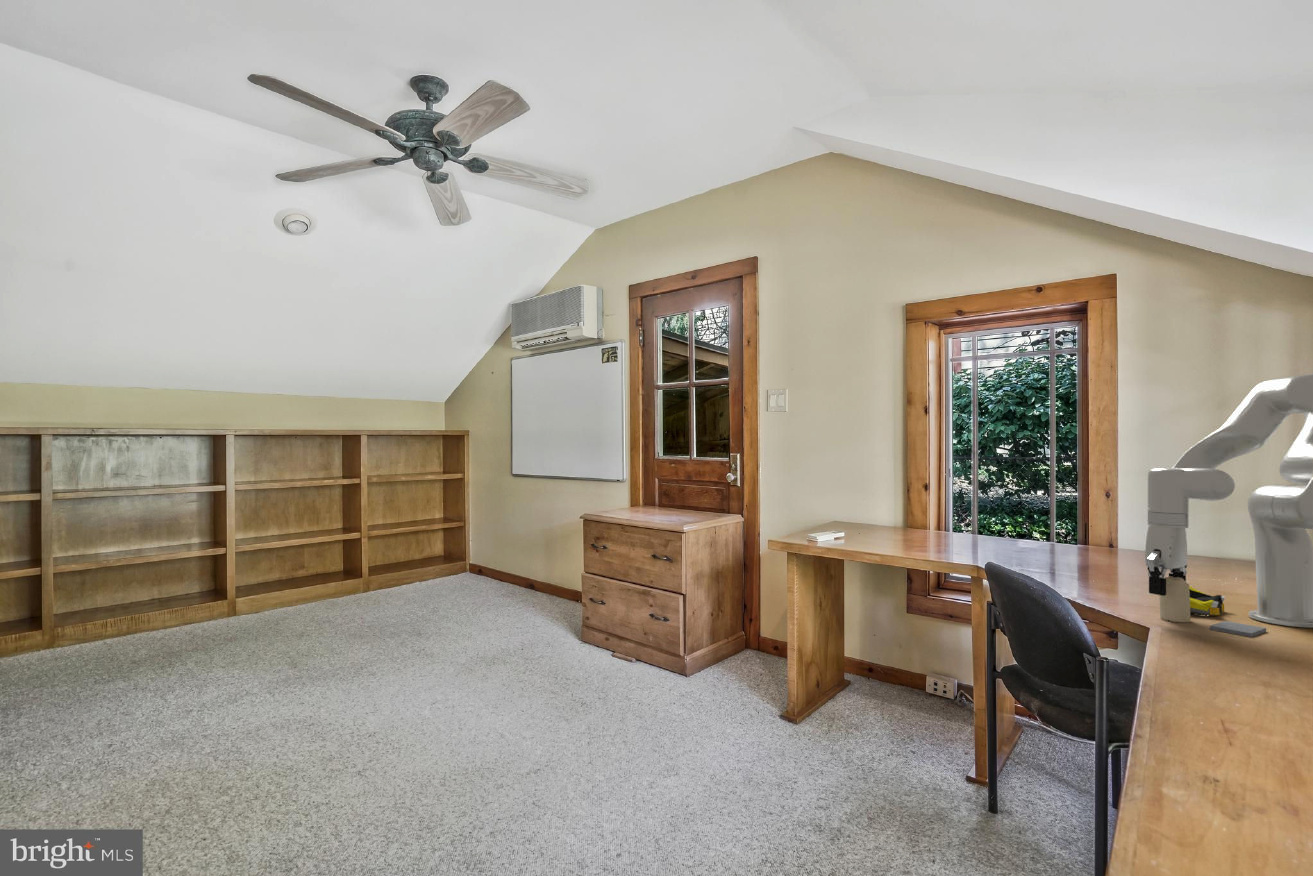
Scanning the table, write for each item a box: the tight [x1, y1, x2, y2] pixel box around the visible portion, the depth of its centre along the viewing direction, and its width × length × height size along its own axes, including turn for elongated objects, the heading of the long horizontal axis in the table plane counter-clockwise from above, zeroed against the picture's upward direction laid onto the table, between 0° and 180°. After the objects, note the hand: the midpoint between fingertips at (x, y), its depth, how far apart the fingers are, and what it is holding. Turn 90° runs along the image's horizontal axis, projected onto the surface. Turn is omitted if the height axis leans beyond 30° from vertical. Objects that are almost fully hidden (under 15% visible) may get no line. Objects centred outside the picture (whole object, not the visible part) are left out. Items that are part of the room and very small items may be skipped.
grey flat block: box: [1209, 620, 1267, 638], centre depth 137 cm, size 8×7×1 cm
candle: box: [1158, 575, 1191, 623], centre depth 147 cm, size 6×6×10 cm
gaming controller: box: [1189, 585, 1226, 617], centre depth 154 cm, size 15×6×10 cm
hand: (1167, 592), depth 147 cm, fingers open, 9 cm apart
